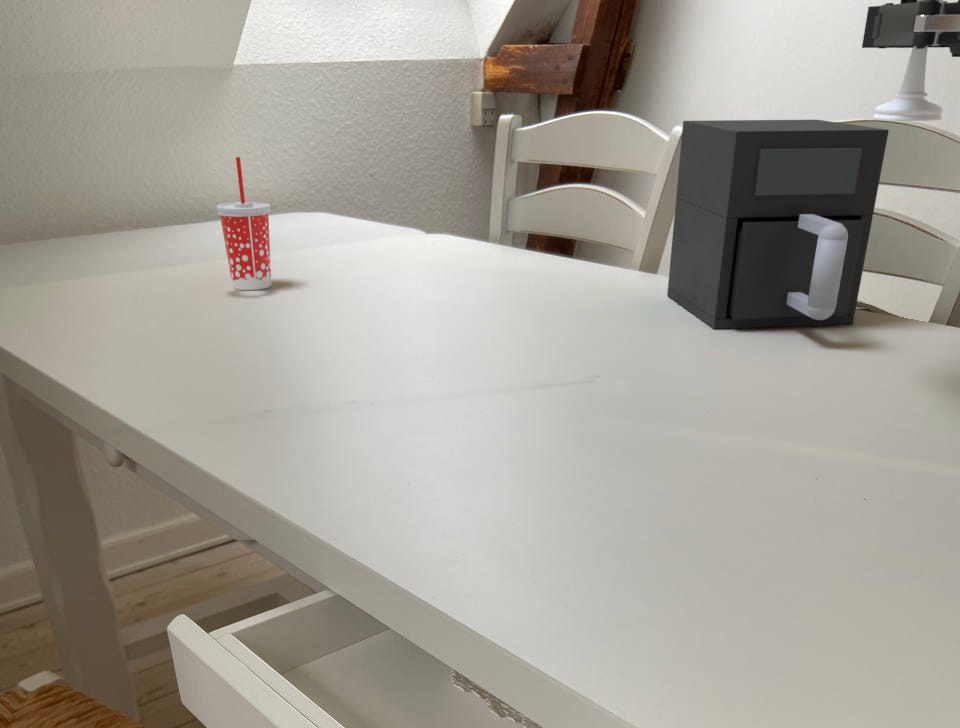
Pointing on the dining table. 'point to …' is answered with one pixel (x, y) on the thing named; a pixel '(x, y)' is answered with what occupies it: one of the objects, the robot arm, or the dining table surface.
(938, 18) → the robot arm
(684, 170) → the fryer
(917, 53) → the chess piece
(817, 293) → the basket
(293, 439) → the dining table surface
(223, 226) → the beverage cup
